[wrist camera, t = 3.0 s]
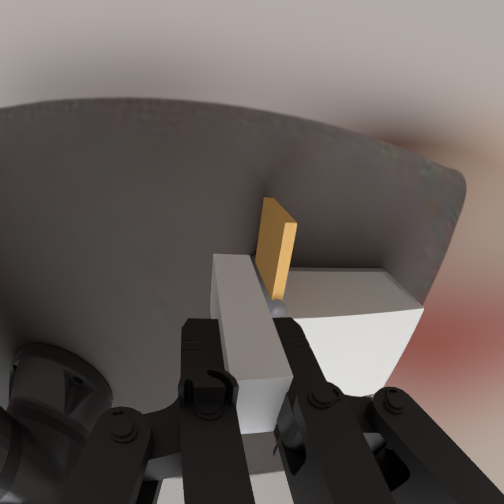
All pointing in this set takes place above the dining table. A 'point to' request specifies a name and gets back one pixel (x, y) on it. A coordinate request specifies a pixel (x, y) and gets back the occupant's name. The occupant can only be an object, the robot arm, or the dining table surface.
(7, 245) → the dining table surface
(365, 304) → the case
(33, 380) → the robot arm
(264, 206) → the door
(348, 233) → the dining table surface
